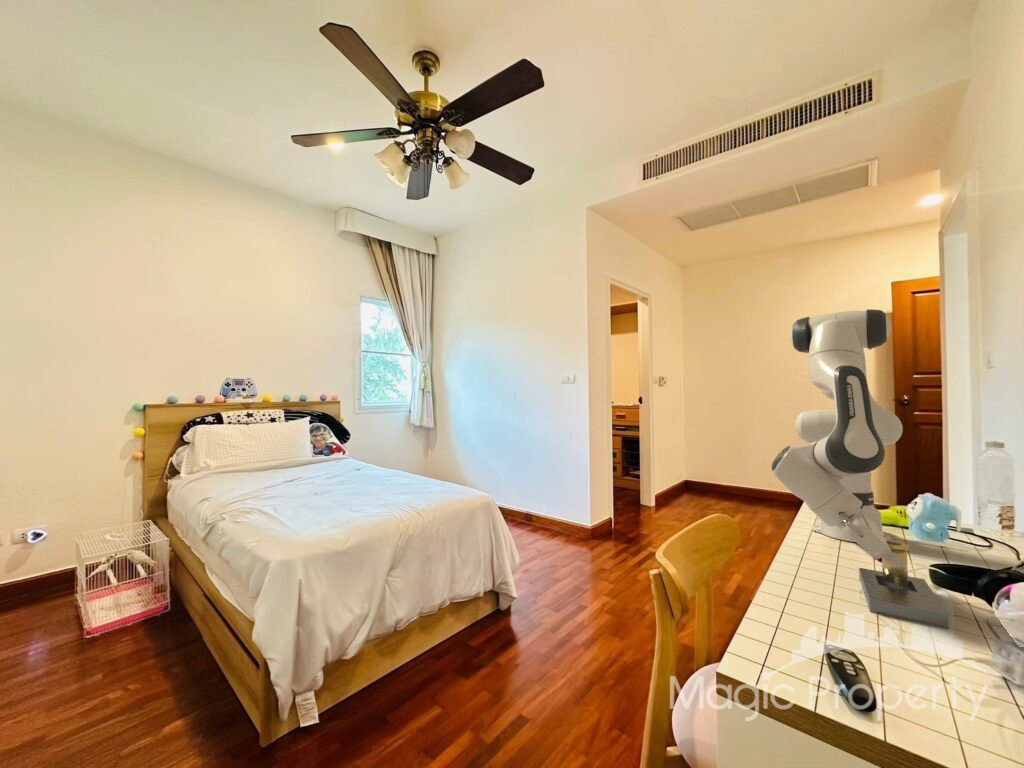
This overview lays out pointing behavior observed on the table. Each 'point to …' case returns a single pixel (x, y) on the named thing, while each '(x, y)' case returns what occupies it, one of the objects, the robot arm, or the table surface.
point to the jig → (902, 599)
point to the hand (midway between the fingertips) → (898, 560)
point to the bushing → (892, 572)
